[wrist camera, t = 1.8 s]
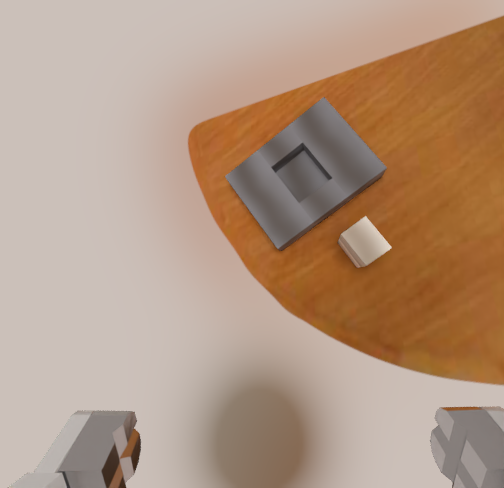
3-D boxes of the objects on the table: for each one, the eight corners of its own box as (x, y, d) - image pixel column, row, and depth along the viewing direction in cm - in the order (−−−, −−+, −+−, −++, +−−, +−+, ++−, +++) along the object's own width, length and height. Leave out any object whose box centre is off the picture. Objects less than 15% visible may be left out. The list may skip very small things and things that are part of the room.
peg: (356, 228, 39) (365, 216, 31) (377, 253, 39) (392, 247, 30) (337, 242, 40) (340, 233, 31) (357, 267, 39) (366, 265, 30)
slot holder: (324, 111, 42) (324, 96, 39) (381, 176, 39) (386, 167, 36) (232, 184, 44) (224, 176, 41) (281, 251, 41) (277, 248, 38)
